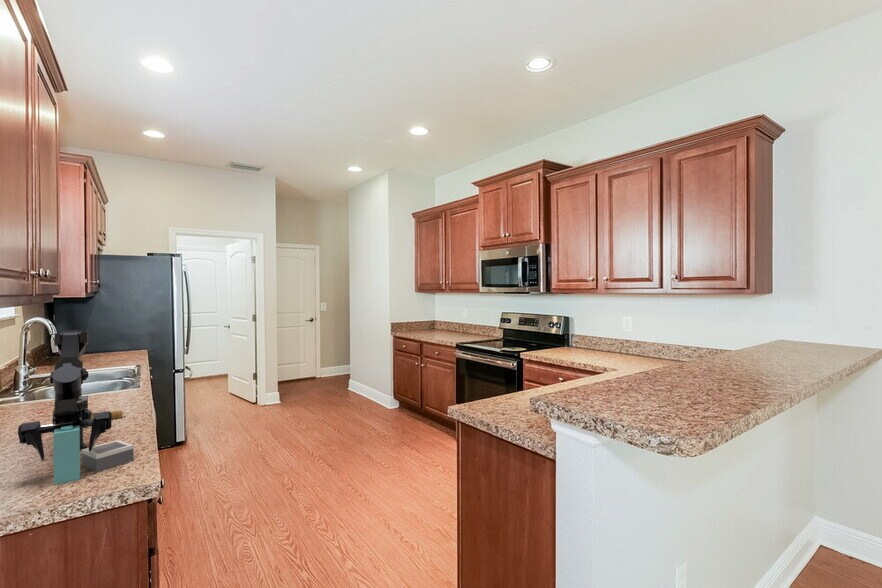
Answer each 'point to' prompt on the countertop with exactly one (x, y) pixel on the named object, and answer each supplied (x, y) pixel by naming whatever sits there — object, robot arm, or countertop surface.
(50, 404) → the countertop surface
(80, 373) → the robot arm
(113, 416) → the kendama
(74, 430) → the tall brick
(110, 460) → the tower base
